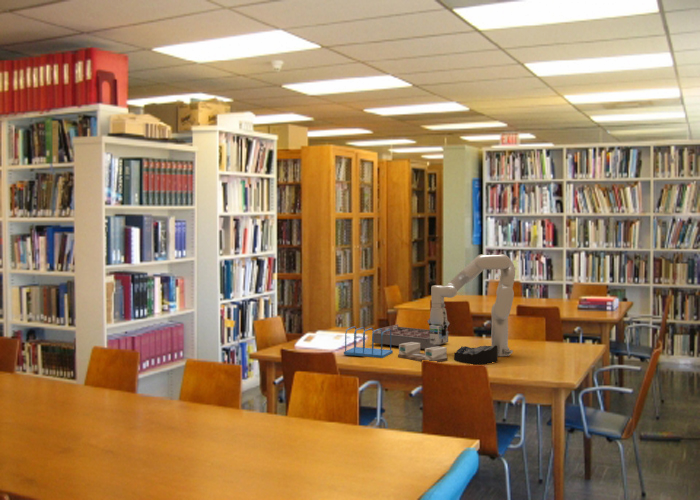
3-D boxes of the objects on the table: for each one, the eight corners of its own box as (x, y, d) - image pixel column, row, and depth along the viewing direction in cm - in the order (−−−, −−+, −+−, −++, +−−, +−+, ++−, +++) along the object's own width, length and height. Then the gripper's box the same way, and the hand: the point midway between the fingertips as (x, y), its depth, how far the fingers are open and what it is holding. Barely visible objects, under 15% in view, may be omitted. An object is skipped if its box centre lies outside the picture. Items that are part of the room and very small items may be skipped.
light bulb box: (439, 344, 422) (438, 326, 422) (429, 343, 426) (429, 325, 426) (448, 341, 430) (447, 323, 430) (438, 340, 435) (438, 323, 434)
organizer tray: (426, 351, 437) (426, 335, 437) (371, 345, 460) (371, 329, 459) (449, 344, 464) (449, 328, 463) (396, 338, 486) (396, 323, 486)
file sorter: (343, 355, 425) (343, 329, 424) (354, 350, 441) (354, 325, 440) (382, 358, 415) (382, 332, 415) (392, 353, 431) (392, 328, 431)
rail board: (447, 360, 409) (447, 347, 408) (431, 363, 399) (431, 350, 399) (413, 354, 428) (413, 341, 427) (397, 357, 418) (397, 344, 418)
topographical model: (486, 355, 426) (487, 338, 425) (504, 363, 402) (504, 345, 401) (448, 357, 420) (448, 340, 420) (463, 365, 396) (463, 347, 396)
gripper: (453, 306, 424) (454, 335, 424) (430, 304, 436) (431, 333, 437) (445, 307, 419) (446, 337, 419) (422, 305, 431) (423, 334, 432)
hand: (438, 334), depth 428 cm, fingers closed on light bulb box, 7 cm apart
